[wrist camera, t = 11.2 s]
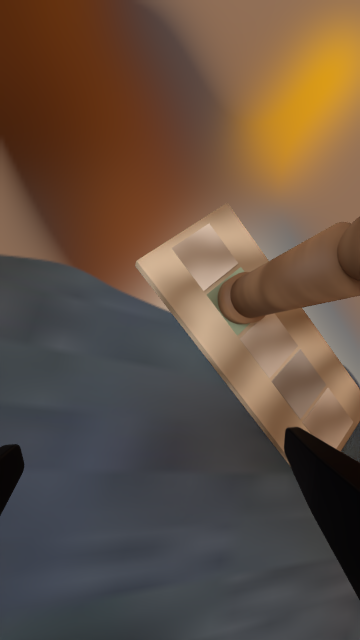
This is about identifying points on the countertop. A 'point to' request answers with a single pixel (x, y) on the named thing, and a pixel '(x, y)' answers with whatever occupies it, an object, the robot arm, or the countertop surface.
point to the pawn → (297, 277)
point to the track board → (253, 335)
